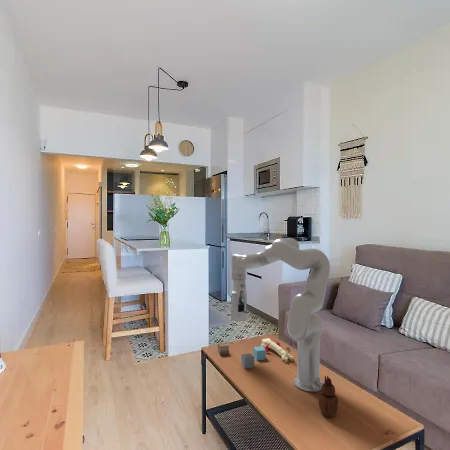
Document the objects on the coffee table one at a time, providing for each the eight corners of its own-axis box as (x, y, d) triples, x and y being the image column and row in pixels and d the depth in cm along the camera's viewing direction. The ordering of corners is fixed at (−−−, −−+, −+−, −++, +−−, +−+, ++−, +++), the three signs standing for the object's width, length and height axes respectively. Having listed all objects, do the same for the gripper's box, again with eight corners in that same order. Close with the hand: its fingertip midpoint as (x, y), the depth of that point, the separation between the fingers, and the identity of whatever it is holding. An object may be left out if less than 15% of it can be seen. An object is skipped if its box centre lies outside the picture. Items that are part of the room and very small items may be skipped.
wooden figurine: (324, 420, 111) (325, 379, 110) (315, 411, 116) (315, 371, 116) (340, 417, 112) (341, 376, 112) (331, 408, 118) (331, 369, 118)
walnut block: (228, 354, 167) (228, 345, 167) (220, 355, 166) (220, 346, 166) (226, 350, 172) (226, 341, 172) (217, 351, 171) (217, 342, 171)
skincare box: (231, 321, 162) (231, 293, 162) (231, 317, 168) (231, 290, 168) (247, 321, 162) (246, 293, 161) (246, 317, 168) (246, 290, 167)
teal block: (265, 359, 161) (265, 349, 161) (256, 360, 160) (256, 350, 160) (262, 355, 166) (262, 346, 166) (253, 356, 164) (253, 347, 164)
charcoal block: (254, 367, 152) (254, 357, 152) (244, 368, 151) (244, 358, 151) (250, 363, 157) (250, 353, 157) (241, 364, 155) (241, 354, 155)
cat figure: (297, 363, 160) (269, 342, 182) (297, 346, 159) (270, 328, 182) (281, 366, 155) (255, 345, 178) (282, 350, 155) (256, 330, 177)
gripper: (250, 279, 157) (251, 313, 157) (240, 274, 174) (240, 305, 174) (236, 279, 155) (237, 314, 155) (227, 274, 172) (227, 306, 172)
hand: (238, 309), depth 165 cm, fingers closed on skincare box, 7 cm apart
